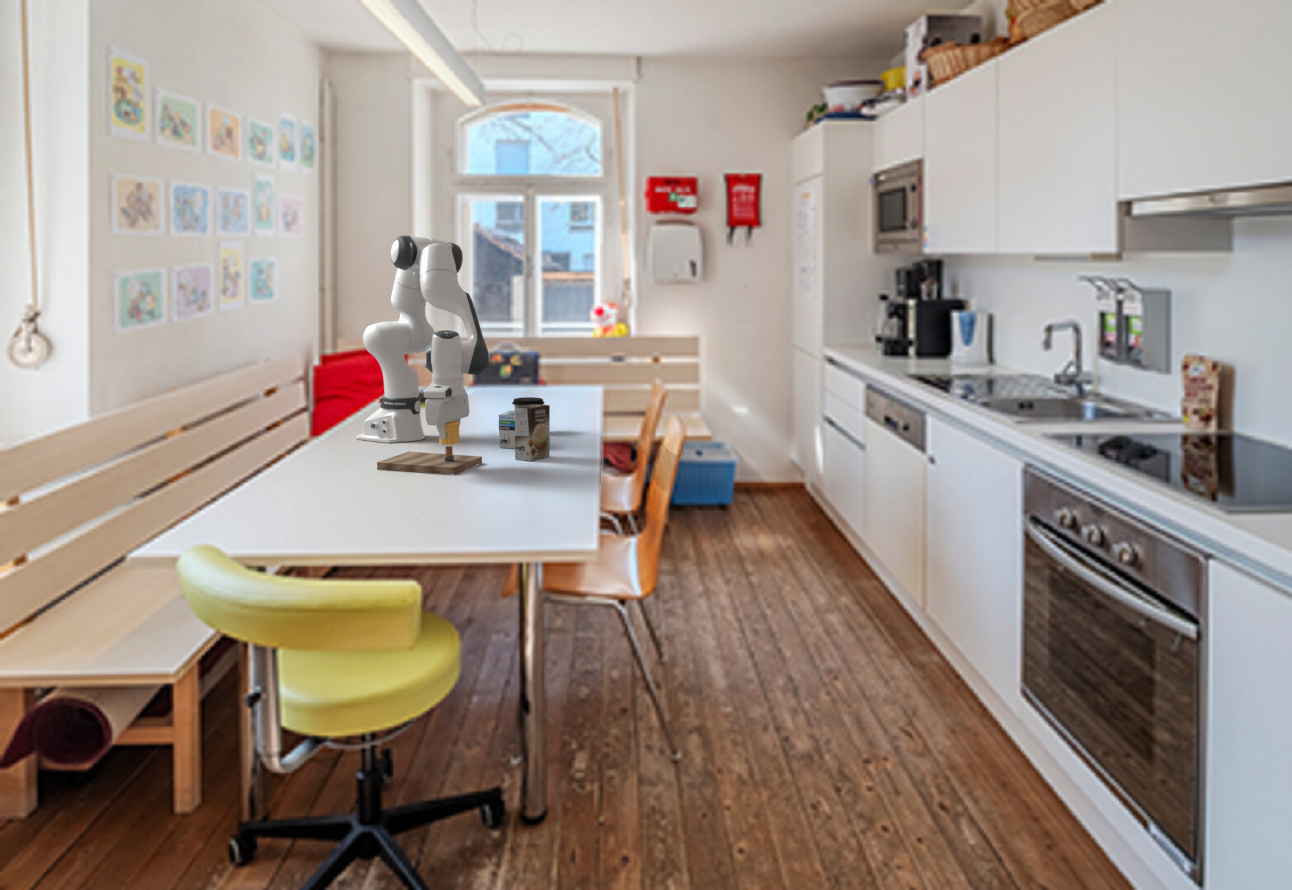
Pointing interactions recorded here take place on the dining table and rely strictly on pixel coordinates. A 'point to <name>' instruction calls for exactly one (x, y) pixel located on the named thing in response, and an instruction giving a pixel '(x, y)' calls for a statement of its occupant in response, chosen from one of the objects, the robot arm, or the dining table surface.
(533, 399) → the coffee cup
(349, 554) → the dining table surface
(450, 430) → the wire cap
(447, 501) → the dining table surface
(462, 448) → the dining table surface
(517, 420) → the coffee box
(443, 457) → the wooden peg board
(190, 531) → the dining table surface
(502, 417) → the light bulb box
